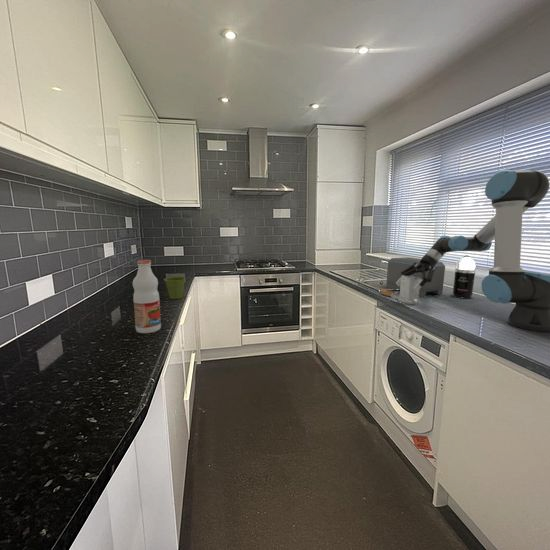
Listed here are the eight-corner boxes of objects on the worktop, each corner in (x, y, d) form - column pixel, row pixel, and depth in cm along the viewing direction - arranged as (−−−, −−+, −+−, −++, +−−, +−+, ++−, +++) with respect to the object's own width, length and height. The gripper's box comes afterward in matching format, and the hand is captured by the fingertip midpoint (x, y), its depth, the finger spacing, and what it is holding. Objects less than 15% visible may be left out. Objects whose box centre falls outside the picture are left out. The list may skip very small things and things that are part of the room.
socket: (418, 299, 159) (420, 277, 157) (408, 300, 157) (410, 278, 155) (409, 296, 165) (411, 275, 163) (399, 297, 163) (401, 276, 161)
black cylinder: (453, 293, 184) (457, 254, 180) (472, 296, 178) (477, 255, 174) (451, 297, 176) (456, 255, 171) (471, 299, 170) (477, 256, 165)
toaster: (402, 284, 212) (404, 256, 209) (443, 294, 182) (446, 262, 178) (381, 286, 205) (383, 257, 202) (420, 297, 175) (424, 263, 171)
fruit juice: (141, 325, 122) (136, 258, 117) (164, 325, 122) (160, 258, 118) (131, 333, 113) (125, 261, 108) (156, 333, 113) (151, 261, 108)
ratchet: (422, 304, 159) (423, 290, 157) (406, 305, 156) (407, 291, 155) (390, 293, 184) (391, 281, 183) (376, 294, 182) (377, 282, 180)
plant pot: (170, 295, 174) (169, 276, 173) (189, 295, 173) (189, 277, 172) (161, 300, 163) (160, 280, 161) (181, 300, 162) (181, 280, 160)
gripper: (453, 266, 151) (427, 297, 149) (416, 261, 175) (394, 287, 173) (446, 256, 149) (419, 287, 147) (410, 252, 172) (387, 278, 170)
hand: (405, 287), depth 160 cm, fingers open, 13 cm apart
